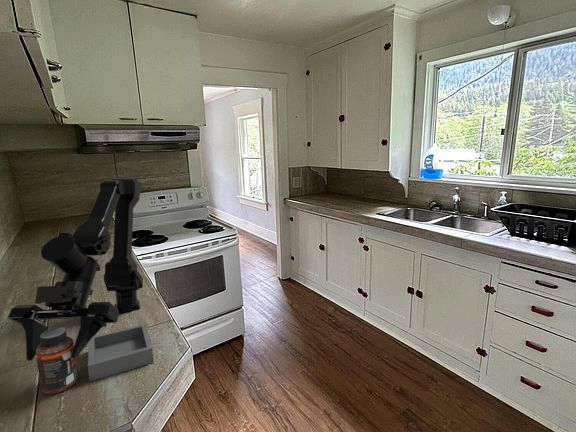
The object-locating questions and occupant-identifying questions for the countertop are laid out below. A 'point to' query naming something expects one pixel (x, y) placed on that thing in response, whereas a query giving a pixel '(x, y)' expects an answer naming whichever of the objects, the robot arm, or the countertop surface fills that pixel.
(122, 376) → the countertop surface
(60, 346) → the supplement bottle
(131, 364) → the tray
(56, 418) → the countertop surface
